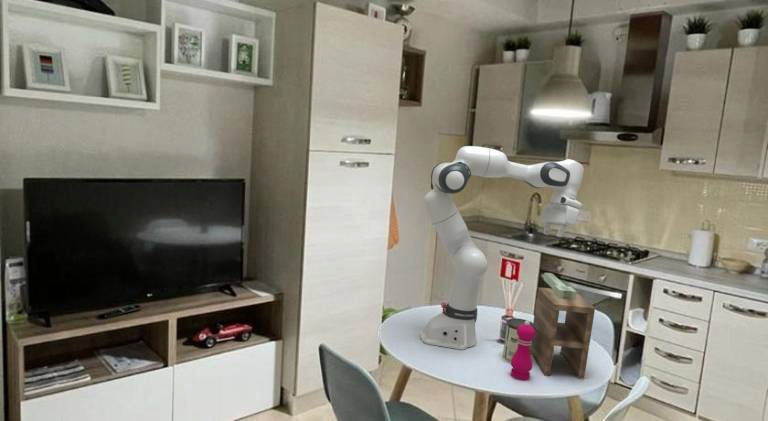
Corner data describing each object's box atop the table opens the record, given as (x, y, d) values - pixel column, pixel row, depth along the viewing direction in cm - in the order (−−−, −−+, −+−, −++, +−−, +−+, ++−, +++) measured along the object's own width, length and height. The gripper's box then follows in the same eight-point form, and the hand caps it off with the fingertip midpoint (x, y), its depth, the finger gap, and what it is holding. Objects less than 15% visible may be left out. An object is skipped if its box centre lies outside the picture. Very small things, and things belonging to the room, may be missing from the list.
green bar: (558, 298, 184) (559, 290, 184) (539, 279, 208) (540, 272, 208) (575, 299, 184) (576, 291, 184) (554, 280, 208) (555, 273, 208)
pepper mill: (533, 381, 175) (541, 325, 172) (513, 380, 175) (520, 324, 172) (526, 371, 182) (533, 317, 179) (506, 370, 182) (513, 316, 179)
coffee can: (529, 355, 196) (534, 320, 194) (531, 367, 186) (536, 330, 184) (501, 351, 198) (506, 316, 196) (502, 362, 188) (507, 325, 186)
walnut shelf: (544, 375, 180) (554, 304, 177) (529, 351, 200) (538, 287, 196) (584, 379, 180) (595, 308, 176) (565, 354, 200) (574, 290, 196)
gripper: (542, 198, 209) (532, 230, 209) (569, 199, 189) (558, 235, 189) (556, 203, 210) (545, 235, 210) (584, 204, 190) (573, 240, 190)
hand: (552, 235), depth 199 cm, fingers open, 8 cm apart
